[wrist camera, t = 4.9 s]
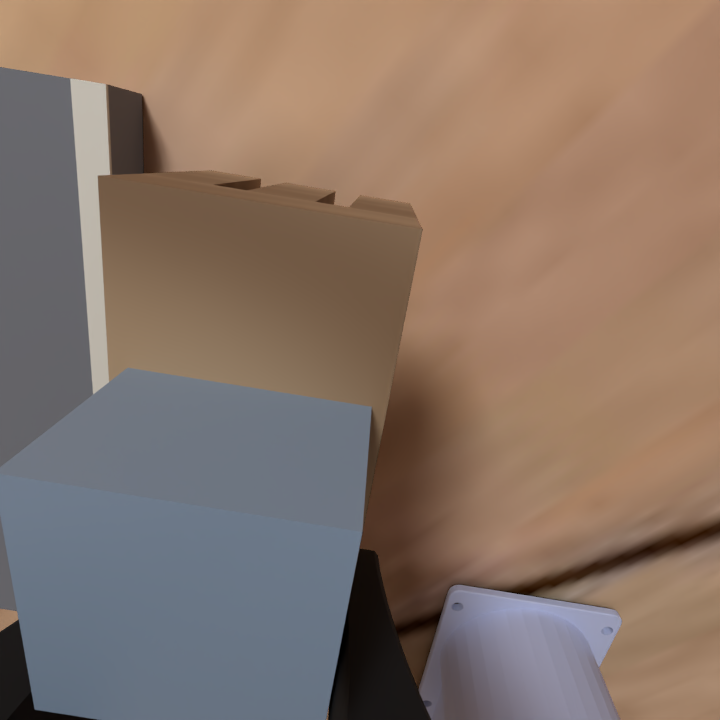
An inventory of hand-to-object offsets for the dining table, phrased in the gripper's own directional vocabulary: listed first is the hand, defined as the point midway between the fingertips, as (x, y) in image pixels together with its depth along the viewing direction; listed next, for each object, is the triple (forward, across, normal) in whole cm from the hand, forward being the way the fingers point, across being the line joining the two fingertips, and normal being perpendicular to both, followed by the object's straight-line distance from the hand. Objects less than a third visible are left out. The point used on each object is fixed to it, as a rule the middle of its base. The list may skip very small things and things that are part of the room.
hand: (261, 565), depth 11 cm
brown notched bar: (+2, 0, 0) cm, 2 cm away
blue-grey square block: (-2, 0, -4) cm, 5 cm away
